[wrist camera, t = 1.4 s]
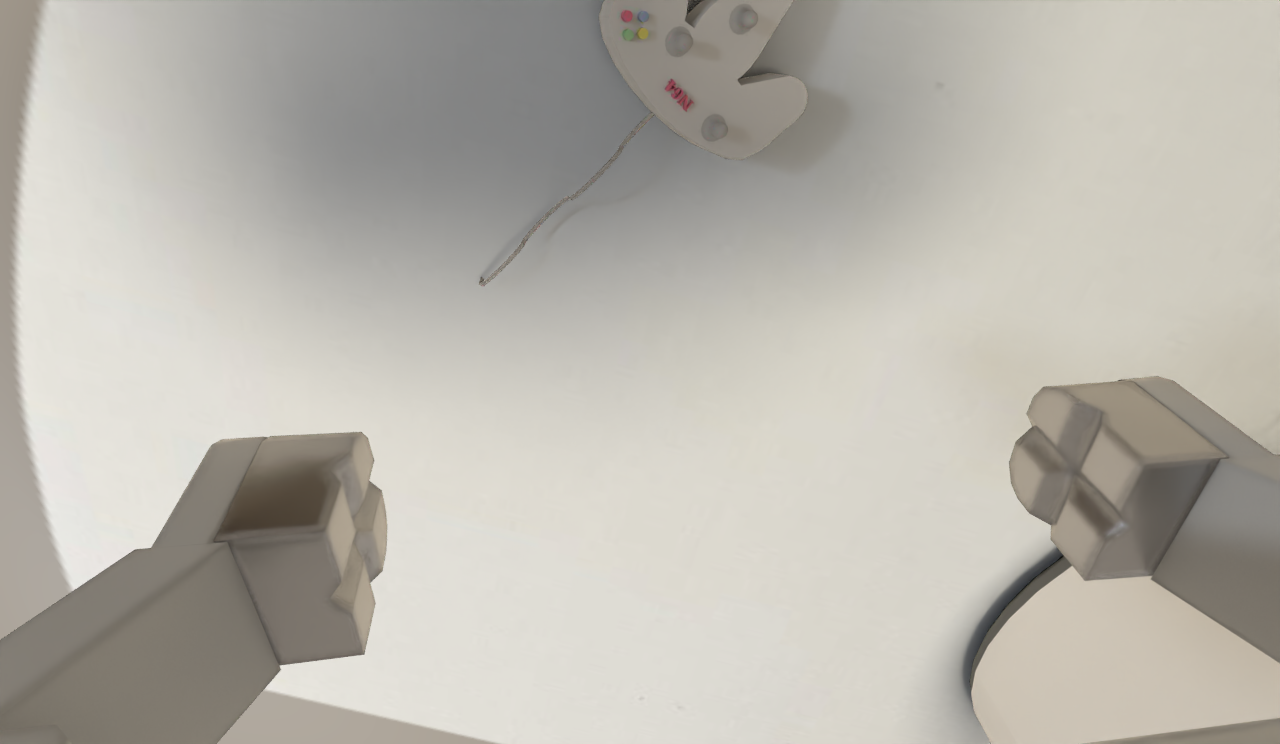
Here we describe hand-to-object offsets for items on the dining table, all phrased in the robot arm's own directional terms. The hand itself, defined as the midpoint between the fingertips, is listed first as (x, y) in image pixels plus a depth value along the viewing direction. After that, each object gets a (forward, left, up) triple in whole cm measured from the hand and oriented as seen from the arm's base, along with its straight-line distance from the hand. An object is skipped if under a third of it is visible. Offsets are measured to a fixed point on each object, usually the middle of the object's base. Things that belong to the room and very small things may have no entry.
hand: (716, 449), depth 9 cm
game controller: (0, 0, -14) cm, 14 cm away
